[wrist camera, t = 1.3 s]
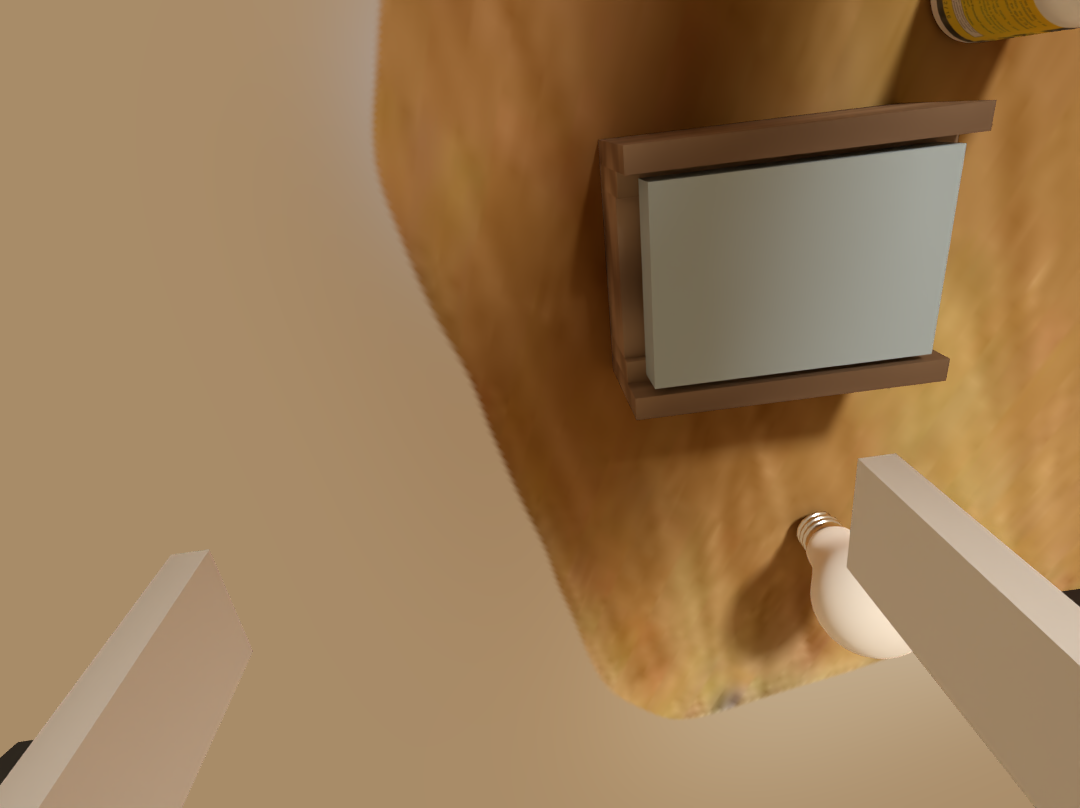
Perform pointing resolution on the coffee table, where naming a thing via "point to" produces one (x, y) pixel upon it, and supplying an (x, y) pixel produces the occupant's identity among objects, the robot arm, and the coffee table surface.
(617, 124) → the coffee table surface
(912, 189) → the cover plate
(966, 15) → the supplement bottle
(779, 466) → the coffee table surface
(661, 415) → the walnut box
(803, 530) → the light bulb
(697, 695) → the coffee table surface
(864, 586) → the robot arm
